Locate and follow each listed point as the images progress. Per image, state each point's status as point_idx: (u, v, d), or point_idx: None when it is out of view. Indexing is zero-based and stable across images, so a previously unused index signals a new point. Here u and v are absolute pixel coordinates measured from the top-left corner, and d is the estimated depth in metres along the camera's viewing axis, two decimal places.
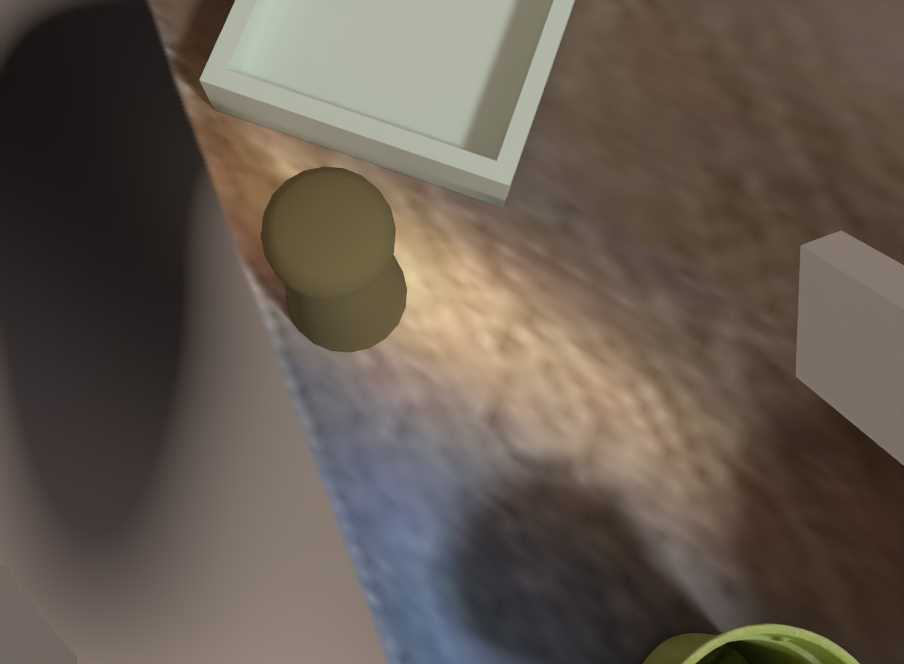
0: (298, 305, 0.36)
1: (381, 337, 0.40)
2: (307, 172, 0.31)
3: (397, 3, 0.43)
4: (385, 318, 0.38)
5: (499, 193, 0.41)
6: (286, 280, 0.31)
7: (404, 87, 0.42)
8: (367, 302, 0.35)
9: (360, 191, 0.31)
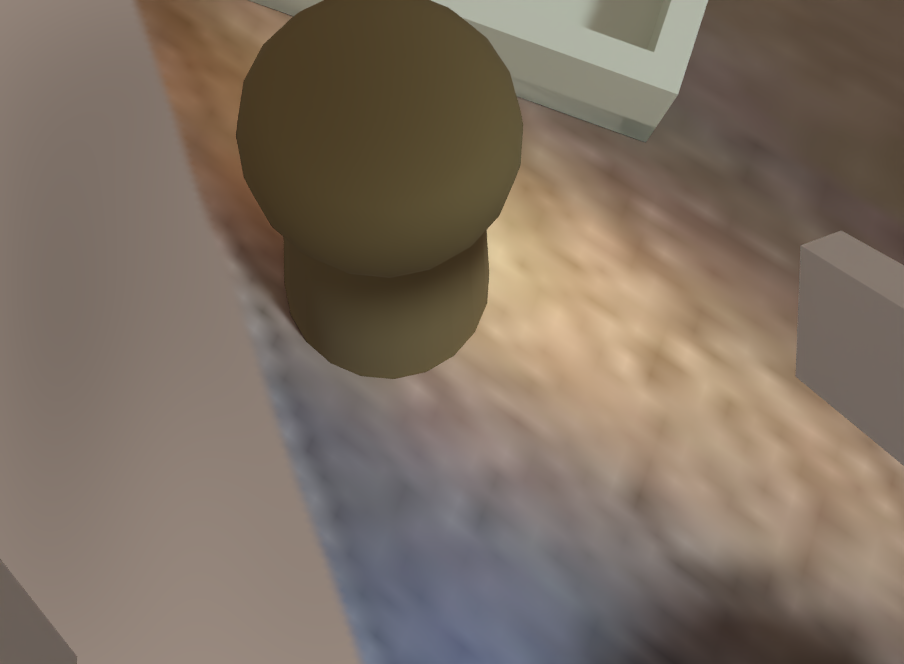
0: (308, 293, 0.19)
1: (447, 353, 0.23)
2: None
3: None
4: (461, 320, 0.21)
5: (650, 112, 0.24)
6: (289, 229, 0.14)
7: None
8: (442, 287, 0.18)
9: (458, 36, 0.14)
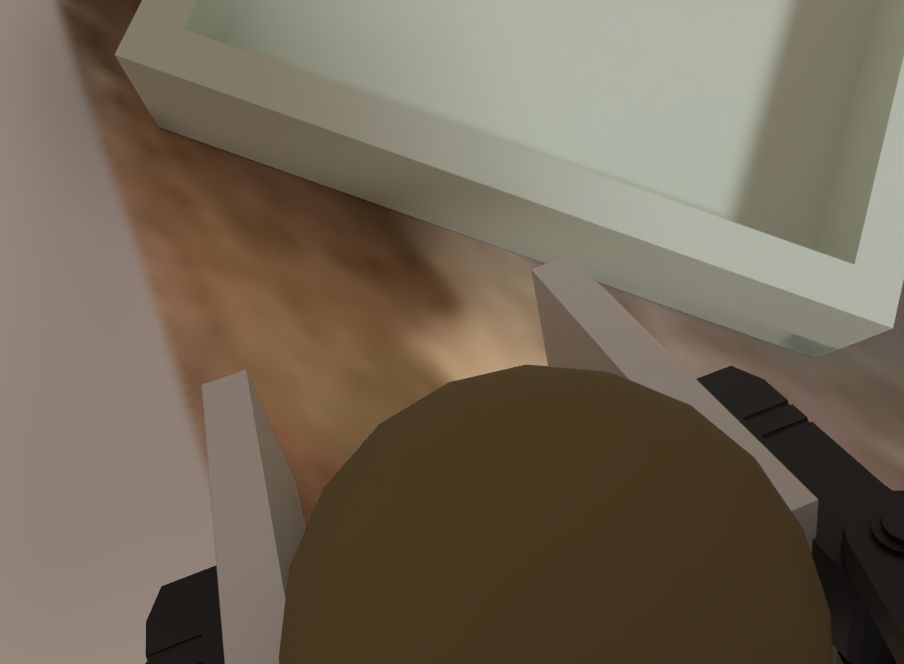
0: None
1: None
2: (485, 407, 0.07)
3: None
4: None
5: (837, 336, 0.17)
6: None
7: (592, 83, 0.19)
8: None
9: (730, 505, 0.07)
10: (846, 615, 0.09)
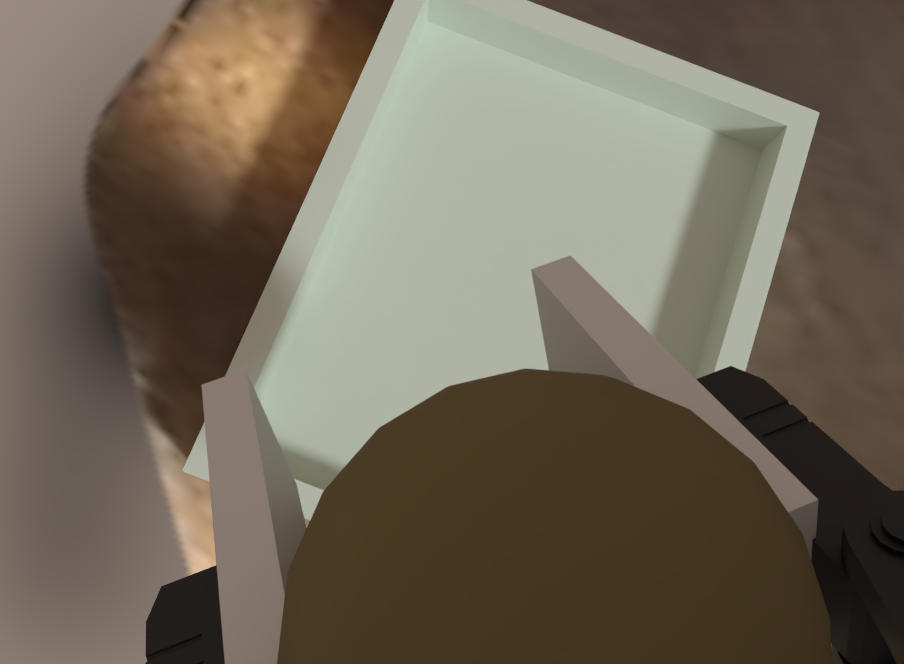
0: None
1: None
2: (484, 411, 0.07)
3: (483, 318, 0.29)
4: None
5: None
6: None
7: None
8: None
9: (729, 510, 0.07)
10: (846, 615, 0.09)
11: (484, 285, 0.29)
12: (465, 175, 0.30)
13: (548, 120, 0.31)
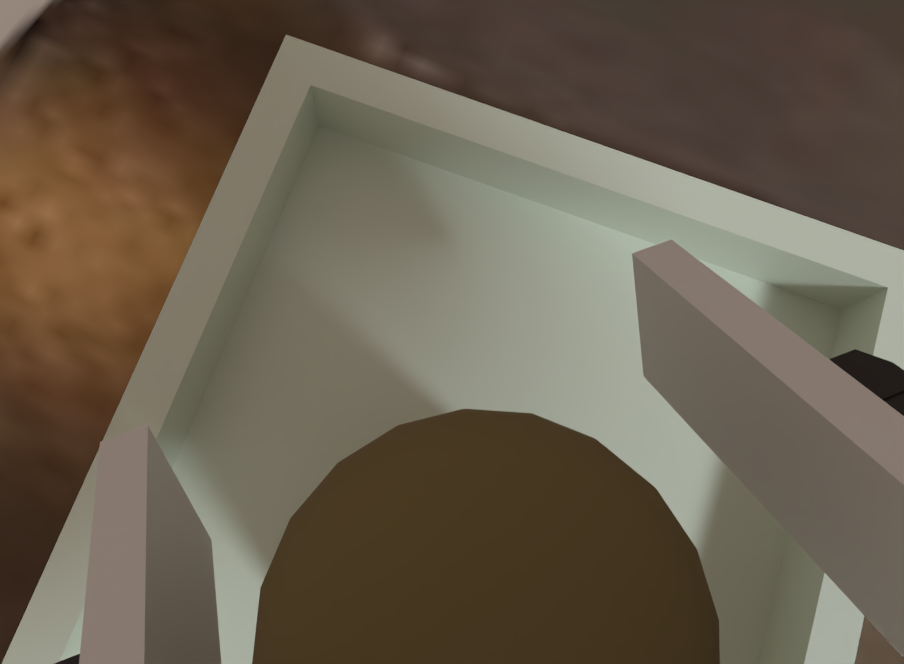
0: None
1: None
2: (422, 451, 0.09)
3: None
4: None
5: None
6: None
7: None
8: None
9: (627, 531, 0.08)
10: None
11: None
12: (377, 373, 0.19)
13: (508, 276, 0.20)
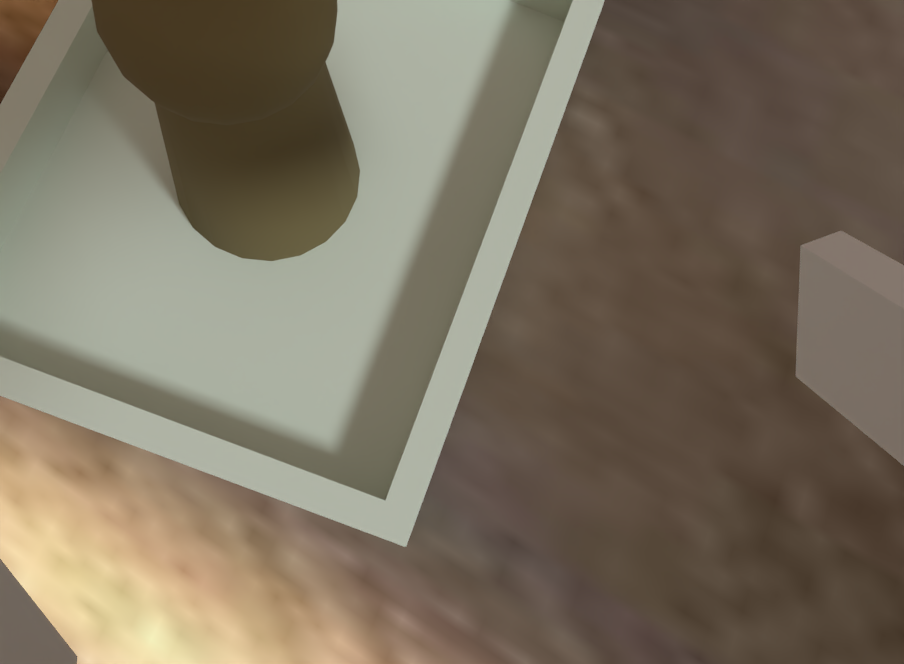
0: (179, 165, 0.22)
1: (318, 238, 0.26)
2: None
3: None
4: (324, 200, 0.24)
5: None
6: (133, 72, 0.17)
7: (245, 340, 0.26)
8: (290, 154, 0.21)
9: None
10: None
11: None
12: None
13: None
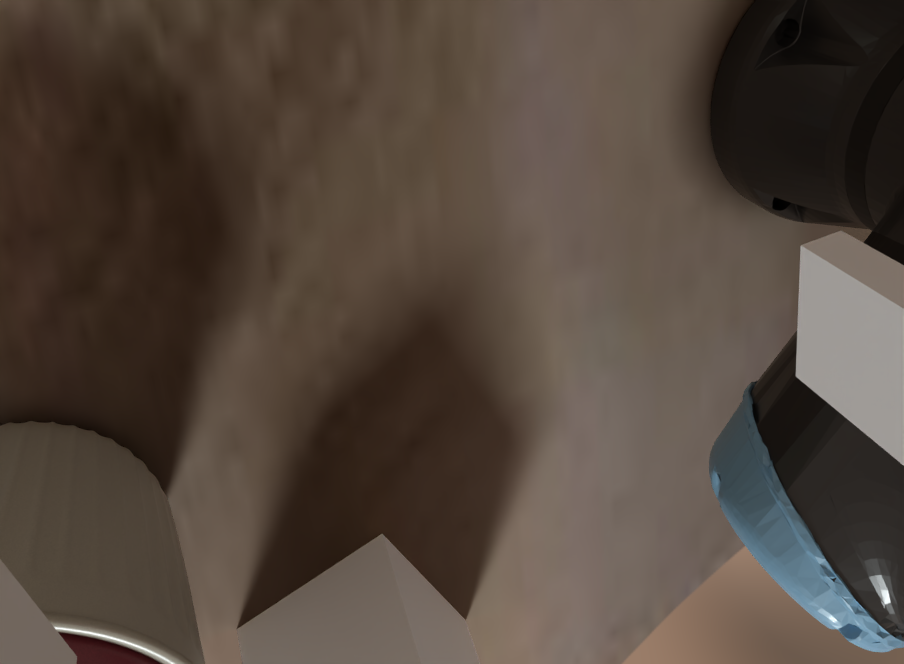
0: None
1: None
2: None
3: None
4: None
5: None
6: None
7: None
8: None
9: None
10: None
11: None
12: None
13: None
